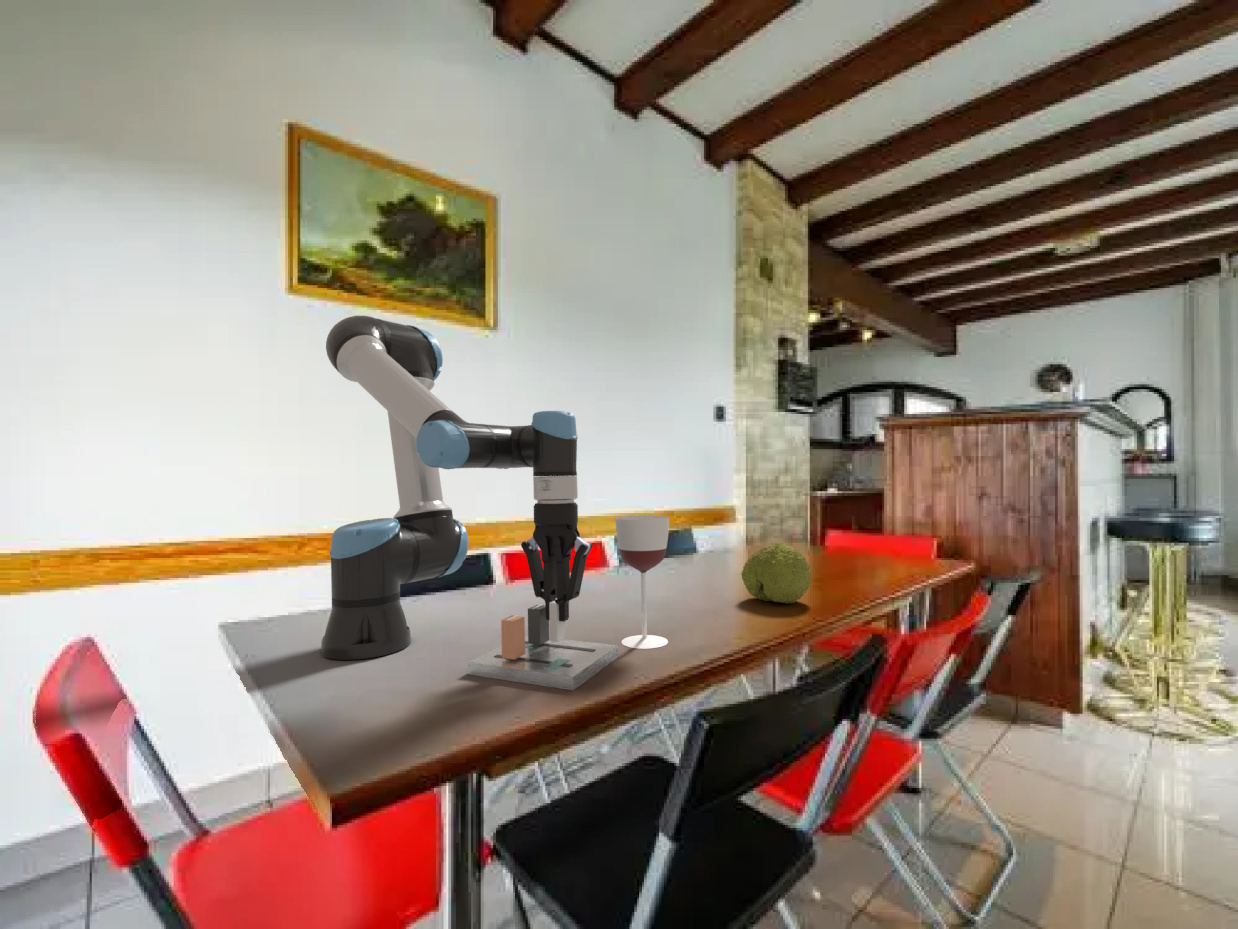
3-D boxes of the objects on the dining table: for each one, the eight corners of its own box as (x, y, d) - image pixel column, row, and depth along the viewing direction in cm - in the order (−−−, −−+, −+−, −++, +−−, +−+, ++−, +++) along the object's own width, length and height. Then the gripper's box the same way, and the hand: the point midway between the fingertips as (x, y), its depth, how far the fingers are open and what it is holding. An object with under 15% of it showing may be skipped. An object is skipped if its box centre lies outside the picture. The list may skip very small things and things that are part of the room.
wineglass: (668, 650, 101) (665, 519, 102) (613, 647, 103) (610, 519, 104) (674, 635, 110) (671, 515, 111) (623, 633, 112) (620, 515, 113)
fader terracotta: (501, 657, 91) (501, 618, 92) (512, 652, 94) (512, 614, 94) (514, 659, 91) (513, 620, 91) (525, 653, 93) (524, 615, 93)
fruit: (733, 605, 134) (727, 544, 141) (765, 617, 143) (758, 559, 150) (796, 591, 124) (786, 526, 131) (827, 604, 133) (816, 543, 140)
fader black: (528, 643, 99) (527, 607, 99) (537, 638, 102) (536, 603, 102) (540, 645, 98) (539, 608, 98) (549, 640, 101) (548, 604, 101)
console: (467, 674, 91) (467, 661, 91) (523, 645, 106) (523, 634, 106) (573, 690, 83) (573, 676, 83) (618, 657, 98) (617, 644, 98)
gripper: (511, 502, 98) (513, 641, 98) (579, 503, 93) (581, 650, 92) (534, 500, 105) (536, 630, 104) (599, 500, 99) (601, 637, 99)
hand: (557, 639), depth 98 cm, fingers closed
